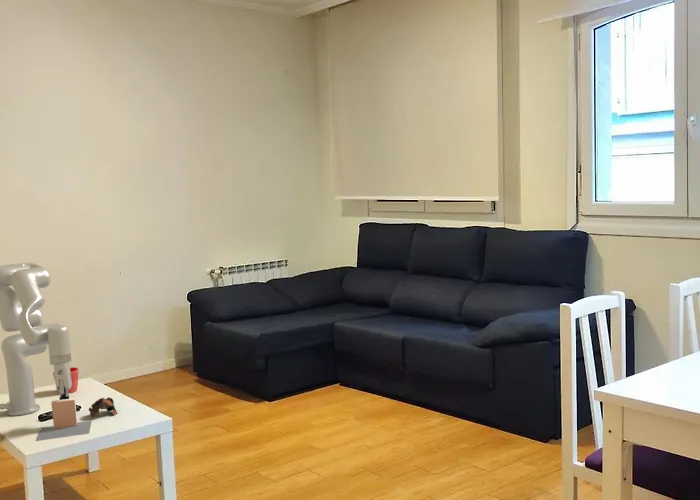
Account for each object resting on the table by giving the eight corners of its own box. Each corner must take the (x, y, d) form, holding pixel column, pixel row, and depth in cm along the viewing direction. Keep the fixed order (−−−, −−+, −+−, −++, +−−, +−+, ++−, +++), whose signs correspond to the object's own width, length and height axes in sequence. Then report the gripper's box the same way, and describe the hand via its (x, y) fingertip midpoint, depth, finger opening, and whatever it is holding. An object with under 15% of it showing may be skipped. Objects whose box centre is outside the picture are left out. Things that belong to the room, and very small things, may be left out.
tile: (54, 428, 274) (51, 403, 273) (54, 426, 276) (52, 400, 275) (76, 425, 276) (74, 400, 275) (77, 423, 279) (74, 398, 277)
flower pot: (49, 395, 325) (47, 373, 324) (63, 388, 335) (61, 367, 334) (72, 395, 323) (70, 373, 322) (85, 388, 334) (83, 366, 333)
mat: (35, 442, 262) (35, 440, 262) (41, 429, 277) (40, 427, 277) (89, 435, 266) (89, 433, 266) (91, 422, 282) (91, 420, 282)
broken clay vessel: (114, 420, 284) (101, 404, 282) (95, 431, 286) (82, 415, 283) (124, 403, 295) (112, 388, 293) (106, 414, 297) (93, 398, 295)
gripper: (69, 361, 271) (74, 410, 273) (72, 353, 285) (77, 400, 287) (47, 364, 269) (52, 413, 271) (51, 356, 283) (56, 403, 285)
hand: (65, 406), depth 279 cm, fingers closed
